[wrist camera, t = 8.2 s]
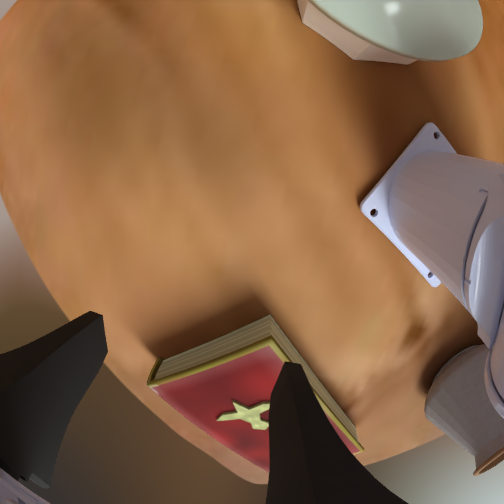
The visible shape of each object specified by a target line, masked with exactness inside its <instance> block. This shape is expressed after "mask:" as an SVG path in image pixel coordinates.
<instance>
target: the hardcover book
mask: <svg viewBox="0 0 504 504" xmlns="http://www.w3.org/2000/svg"><path fill="white" fill-rule="evenodd" d="M285 361H286V362H292V363H299V364H301V365H302V367H303V369H304V372H305V374H306V376H307V378H308V381H309V383H310V385H311V387H312V389H313V391H314V393H315V395H316V397H317V399H318V401H319V403H320V405H321V407H322V409H323V410H324V412H325V414H326V416H327V418H328V419H329V421H330V423H331V424H332V426H333V427H334V429H335V431H336V432H337V434H338V435H339V437H340V438H341V439H342V441H343V442H344V444H345V445H346V446H347V448H348V449H349V450H350V451H351V453H352V454H353V455H355V454H358V453H361V452H363V451H364V448H363V447H362V446H361V444H360V443H359V441H358V436H357V431H356V427H355V426H354V425H353V424H352V422H351V421H350V420H349V418H348V417H347V416H346V415H345V413H344V412H343V411H342V409H341V408H340V407H339V406H338V404H337V403H336V402H335V400H334V399H333V398H332V396H331V395H330V394H329V392H328V391H327V390H326V389H325V387H324V386H323V385H322V383H321V382H320V381H319V379H318V378H317V377H316V375H315V374H314V373H313V371H312V370H311V369H310V367H309V366H308V365H307V363H306V362H305V361H304V359H303V358H302V357H301V355H300V354H299V353H298V351H297V350H296V349H295V347H294V346H293V345H292V343H291V342H290V341H289V339H288V338H287V337H286V335H285V334H284V333H283V331H282V330H281V328H280V327H279V326H278V324H277V323H276V322H275V320H274V319H273V318H272V316H271V315H270V314H269V315H267V316H265V317H263V318H261V319H259V320H257V321H254V322H252V323H250V324H248V325H246V326H243V327H241V328H239V329H237V330H235V331H232V332H230V333H228V334H226V335H223V336H221V337H219V338H216V339H214V340H212V341H209V342H207V343H205V344H202V345H200V346H197V347H195V348H193V349H190V350H188V351H185V352H183V353H180V354H178V355H175V356H173V357H170V358H168V359H165V360H163V359H162V358H161V357H160V358H158V359H157V361H156V362H155V364H154V366H153V368H152V370H151V372H150V375H149V377H148V380H147V385H148V386H149V387H150V388H151V389H152V390H153V391H154V392H156V393H157V394H158V395H159V396H160V397H161V398H162V399H164V400H165V401H166V402H167V403H168V404H170V405H171V406H172V407H173V408H174V409H176V410H177V411H178V412H179V413H181V414H182V415H183V416H184V417H186V418H187V419H188V420H190V421H191V422H192V423H194V424H195V425H196V426H198V427H199V428H200V429H202V430H203V431H204V432H206V433H207V434H209V435H210V436H211V437H213V438H214V439H216V440H217V441H219V442H220V443H222V444H223V445H225V446H226V447H228V448H229V449H231V450H232V451H234V452H235V453H237V454H239V455H240V456H242V457H243V458H245V459H247V460H248V461H250V462H252V463H253V464H255V465H257V466H259V467H260V468H262V469H264V470H266V471H267V472H269V467H270V459H269V406H270V397H271V392H272V390H273V388H274V385H275V383H276V381H277V379H278V376H279V374H280V372H281V369H282V367H283V364H284V362H285Z"/></svg>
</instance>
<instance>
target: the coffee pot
mask: <svg viewBox="0 0 504 504" xmlns="http://www.w3.org/2000/svg"><path fill="white" fill-rule="evenodd" d="M488 352H489V349H488V347H487V346H486V345H485V344H483V345H475V346H471V347H468V348H466V349H464V350H462V351H461V352H459V353H458V354H456V355H455V356H454V357H453V358H451V359H450V360H449V361H448V362H447V363H446V364H445V365H444V366H443V367H442V368H441V369H440V371H439V372H438V373H437V375H436V377H435V378H434V380H433V384H432V386H431V388H430V390H429V392H428V394H427V397H426V401H425V409H424V410H425V416H426V418H427V419H428V420H429V421H431V422H432V423H433V424H434V425H436V426H437V427H438V428H439V429H441V430H442V431H443V432H444V433H446V434H447V435H448V436H449V437H451V438H452V439H453V440H454V441H456V442H457V443H458V444H460V445H461V446H462V447H463V448H464V449H466V450H467V451H468V452H469V453H471V454H472V455H473V456H475V462H476V470H475V472H474V474H473V475H474V476H476V475H479V474H482V473H484V472H485V471H487V470H489V469H491V468H492V467H494V466H496V465H497V464H498V463H500V462H501V461H502V460H504V418H503V417H502V416H501V415H500V414H499V413H498V412H497V411H496V410H495V408H494V406H493V405H492V403H491V401H490V399H489V397H488V394H487V391H486V387H485V379H484V370H485V362H486V359H487V355H488Z"/></svg>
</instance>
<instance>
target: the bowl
mask: <svg viewBox="0 0 504 504" xmlns="http://www.w3.org/2000/svg"><path fill="white" fill-rule="evenodd" d="M297 3H298V7H299V11H300V15H301V20H302V23H303V24H305V25H306V26H308V27H310V28H311V29H313V30H314V31H316V32H317V33H318V34H320V35H321V36H323V37H324V38H326V39H327V40H328V41H330V42H331V43H332V44H334V45H335V46H336V47H338V48H339V49H340V50H342V51H343V52H344V53H346V54H347V55H348V56H349V57H351V58H352V59H353V60H367V61H380V62H390V63H398V64H406V65H408V64H410V63H413V62H415V61H417V60H415V59H411V58H407V57H403V56H400V55H397V54H394V53H391V52H389V51H386V50H384V49H381V48H379V47H377V46H375V45H372V44H370V43H368V42H367V41H365V40H363V39H361V38H359V37H357V36H355V35H354V34H352V33H350V32H349V31H347V30H345V29H343V28H342V27H341V26H339V25H338V24H336V23H335V22H333V21H332V20H330V19H329V18H328V17H326V16H325V15H324V14H323V13H321V12H320V11H319V10H317V9H316V8H315V7H314V6H313V5H312V4H311V3H310V2H309V1H308V0H297Z"/></svg>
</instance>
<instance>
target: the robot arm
mask: <svg viewBox="0 0 504 504" xmlns="http://www.w3.org/2000/svg"><path fill="white" fill-rule="evenodd" d="M434 132H435V133H436V134H437V137H436V139H435V138H434ZM372 209H375V210H376V213H375V214H374V215H370V212H371V210H372ZM360 210H361V211H362V213H363V214H364V215H365V216H366V217H368V218H369V219H370V220H371V221H372V222H373V223H374V224H375V225H376V226H377V227H378V228H379V229H380V230H381V231H382V232H383V233H384V234H385V235H386V236H387V237H388V238H389V240H390V241H391V242H392V243H393V244H394V245H395V246H396V247H397V248H398V249H399V250H400V251H401V252H402V253H403V254H404V255H405V256H406V258H407V259H408V260H409V261H410V262H411V263H412V264H413V265H414V266H415V267H416V269H417V270H418V271H419V272H420V273H421V274H422V275H423V277H424V278H425V279H426V280H427V281H428V282H429V284H430V285H431V286H432V287H437V286H438V285H439V284H440V283H441V282H442V283H443V284H444V285H445V286H446V287H447V288H448V290H449V291H450V292H451V293H452V294H453V295H454V296H455V297H456V298H457V299H458V300H459V301H460V303H461V304H462V305H463V306H464V307H465V308H466V309H467V310H468V311H469V313H470V314H471V315H472V316H473V318H474V319H475V320H476V321H477V324H478V333H477V334H478V336H479V337H480V338H481V339H482V341H483V342H484V343H485V345H486V346H487V347H488V349H489V352H488V355H487V359H486V362H485V370H484V379H485V387H486V391H487V394H488V397H489V399H490V401H491V403H492V405H493V406H494V408H495V410H496V411H497V412H498V413H499V414H500V415H501V416H502V417H503V418H504V164H502V163H498V162H494V161H489V160H485V159H480V158H475V157H470V156H465V155H460V154H457V153H456V151H455V150H454V148H453V147H452V146H451V144H450V143H449V142H448V140H447V139H446V138H445V136H444V135H443V134H442V133H441V131H440V130H439V129H438V127H437V126H436V125H435V124H434V123H431V122H429V123H426V124H425V125H424V126H423V127H422V129H421V130H420V131H419V132H418V134H417V135H416V136H415V138H414V139H413V140H412V141H411V143H410V144H409V145H408V146H407V148H406V149H405V150H404V151H403V153H402V154H401V155H400V156H399V158H398V159H397V160H396V161H395V162H394V164H393V165H392V166H391V167H390V168H389V170H388V171H387V172H386V173H385V175H384V176H383V177H382V178H381V179H380V181H379V182H378V183H377V184H376V185H375V186H374V188H373V189H372V190H371V191H370V192H369V193H368V195H367V196H366V197H365V198H364V199H363V200H362V202H361V204H360ZM429 272H431V273H430V275H428V274H429ZM107 352H108V349H107V343H106V337H105V330H104V322H103V315H100V314H98V313H95V312H92V311H89V312H87V313H85V314H83V315H81V316H79V317H78V318H76V319H74V320H72V321H71V322H69V323H67V324H65V325H64V326H62V327H60V328H58V329H56V330H54V331H52V332H51V333H49V334H47V335H45V336H43V337H41V338H39V339H37V340H35V341H33V342H31V343H29V344H27V345H24V346H22V347H20V348H17V349H14V350H12V351H9V352H6V353H3V354H0V504H50V503H48V502H47V501H45V500H44V499H42V498H40V497H39V496H37V495H36V494H34V493H33V492H31V491H30V490H29V489H27V488H26V487H25V486H23V485H22V484H20V483H19V482H18V479H19V477H20V478H21V479H23V480H24V481H26V482H27V481H28V480H29V479H30V480H32V481H33V482H34V483H36V484H37V485H39V486H41V487H42V488H49V487H51V480H52V475H53V470H54V466H55V461H56V458H57V455H58V451H59V448H60V445H61V442H62V439H63V436H64V433H65V431H66V428H67V426H68V424H69V421H70V419H71V417H72V415H73V413H74V411H75V409H76V407H77V406H78V404H79V402H80V401H81V399H82V398H83V396H84V394H85V393H86V391H87V389H88V388H89V386H90V385H91V383H92V381H93V380H94V378H95V377H96V375H97V373H98V372H99V370H100V368H101V366H102V364H103V361H104V359H105V357H106V355H107ZM269 459H270V467H269V481H268V491H267V498H266V504H408V503H407V502H405V501H403V500H402V499H401V498H399V497H398V496H396V495H395V494H394V493H392V492H391V491H390V490H388V489H387V488H386V487H385V486H383V485H382V484H381V483H380V482H379V481H378V480H376V479H375V478H374V477H373V476H372V475H371V473H370V472H369V471H368V470H367V469H365V467H364V466H363V465H362V464H361V463H360V462H359V461H358V460H357V459H356V457H355V456H354V455H353V454H352V453H351V451H350V450H349V449H348V448H347V446H346V445H345V444H344V442H343V441H342V439H341V438H340V437H339V435H338V434H337V432H336V431H335V429H334V427H333V426H332V424H331V423H330V421H329V419H328V418H327V416H326V414H325V412H324V410H323V409H322V407H321V405H320V403H319V401H318V399H317V397H316V395H315V393H314V391H313V389H312V387H311V385H310V383H309V381H308V378H307V376H306V374H305V372H304V369H303V367H302V365H301V364H299V363H292V362H286V361H285V362H284V364H283V367H282V369H281V372H280V374H279V376H278V379H277V381H276V383H275V385H274V388H273V390H272V392H271V397H270V406H269Z"/></svg>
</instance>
